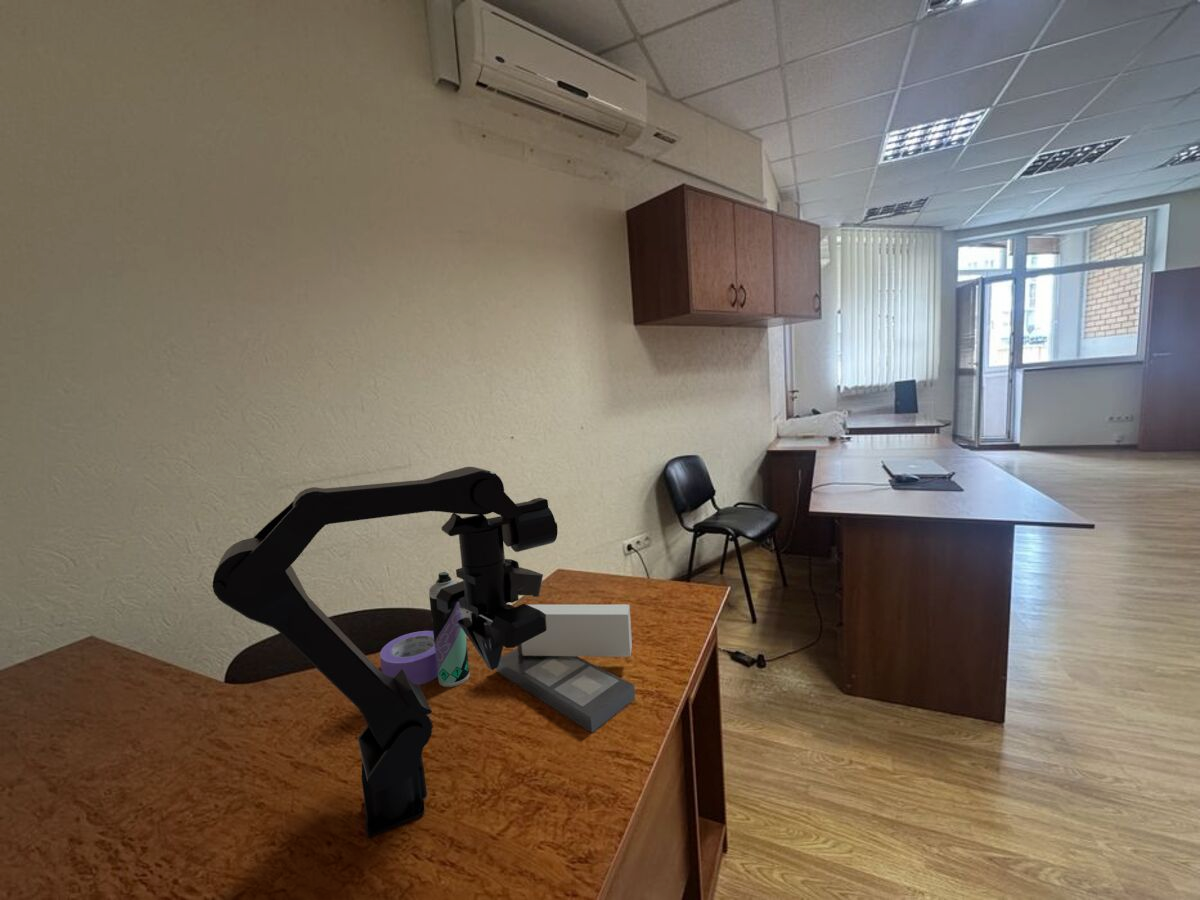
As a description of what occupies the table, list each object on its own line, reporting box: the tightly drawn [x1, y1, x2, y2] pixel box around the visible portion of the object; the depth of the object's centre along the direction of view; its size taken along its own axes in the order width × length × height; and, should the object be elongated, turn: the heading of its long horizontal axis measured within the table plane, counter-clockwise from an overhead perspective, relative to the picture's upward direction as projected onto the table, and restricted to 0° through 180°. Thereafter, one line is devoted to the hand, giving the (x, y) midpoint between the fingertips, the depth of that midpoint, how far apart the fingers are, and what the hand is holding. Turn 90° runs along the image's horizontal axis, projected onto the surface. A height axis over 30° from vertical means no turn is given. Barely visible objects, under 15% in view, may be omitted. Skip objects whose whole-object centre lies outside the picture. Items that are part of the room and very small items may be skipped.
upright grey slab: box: [516, 603, 633, 658], centre depth 87 cm, size 22×4×8 cm, turn 82°
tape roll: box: [379, 630, 438, 686], centre depth 89 cm, size 12×12×5 cm
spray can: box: [428, 571, 471, 688], centre depth 85 cm, size 6×6×20 cm
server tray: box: [496, 648, 636, 734], centre depth 82 cm, size 10×25×3 cm, turn 46°
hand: (493, 667), depth 65 cm, fingers closed
